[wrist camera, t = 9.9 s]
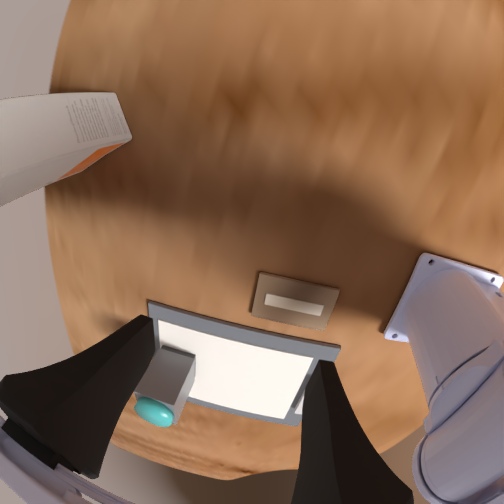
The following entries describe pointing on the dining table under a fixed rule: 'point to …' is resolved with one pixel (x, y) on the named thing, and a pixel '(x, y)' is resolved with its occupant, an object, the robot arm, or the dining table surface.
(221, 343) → the clipboard
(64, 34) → the dining table surface
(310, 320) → the word placard
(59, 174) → the skincare box
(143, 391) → the teal-capped grey stamp
